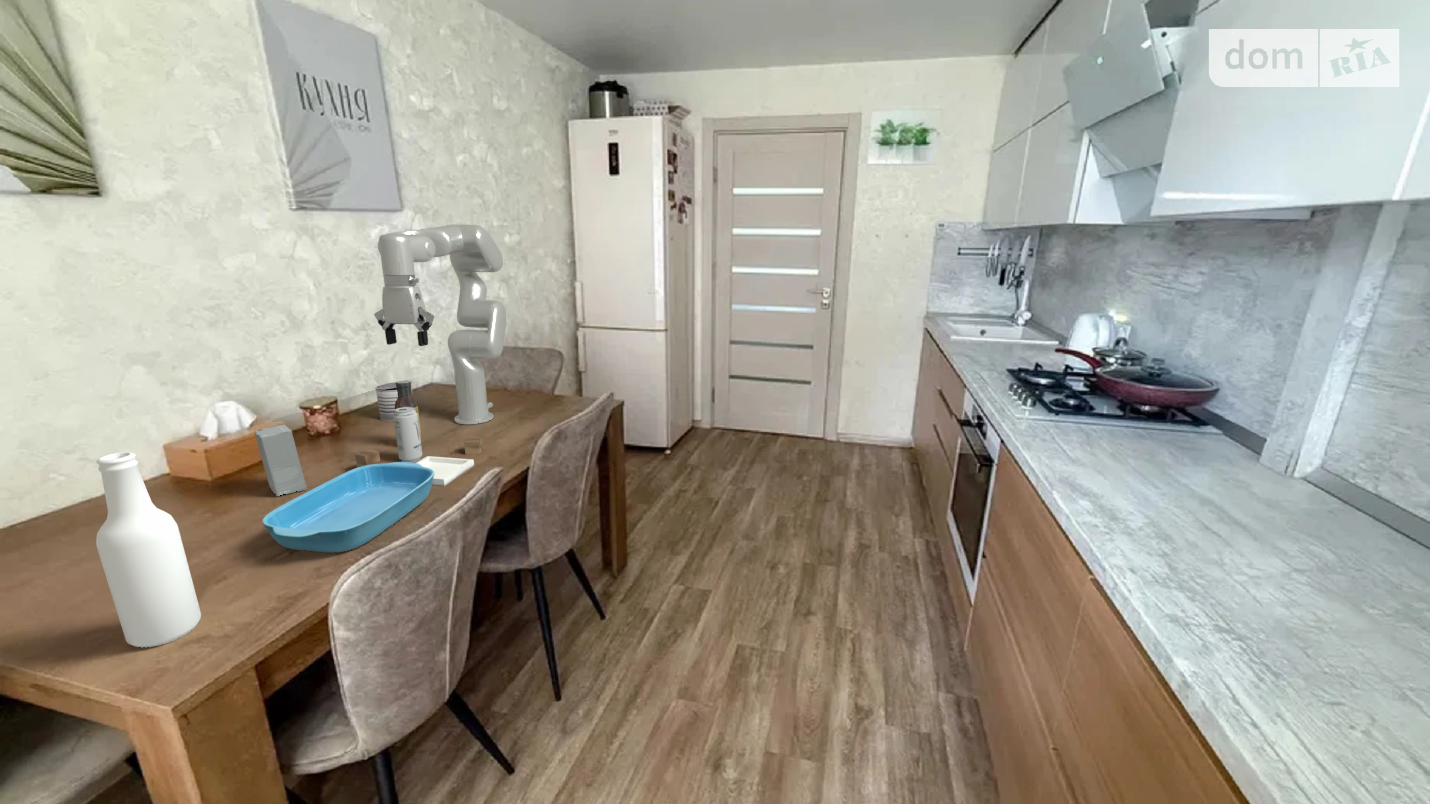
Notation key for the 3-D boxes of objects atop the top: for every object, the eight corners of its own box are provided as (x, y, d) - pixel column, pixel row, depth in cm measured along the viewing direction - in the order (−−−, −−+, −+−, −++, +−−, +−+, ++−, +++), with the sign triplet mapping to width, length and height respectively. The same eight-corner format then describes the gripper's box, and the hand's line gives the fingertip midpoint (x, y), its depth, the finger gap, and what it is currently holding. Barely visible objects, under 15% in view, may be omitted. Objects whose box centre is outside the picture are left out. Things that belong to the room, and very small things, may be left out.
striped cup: (395, 423, 194) (390, 389, 191) (371, 418, 198) (366, 385, 194) (423, 414, 204) (418, 381, 201) (399, 410, 208) (395, 378, 205)
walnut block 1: (371, 466, 157) (368, 449, 156) (381, 468, 156) (378, 451, 154) (357, 471, 154) (354, 454, 152) (367, 473, 152) (365, 456, 151)
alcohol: (111, 645, 87) (53, 464, 79) (174, 610, 96) (127, 443, 87) (156, 654, 86) (102, 470, 77) (216, 618, 94) (173, 448, 86)
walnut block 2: (468, 450, 171) (466, 437, 170) (482, 449, 171) (481, 436, 170) (465, 454, 167) (464, 442, 166) (479, 454, 168) (478, 441, 167)
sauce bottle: (415, 448, 171) (406, 384, 165) (394, 447, 171) (385, 384, 165) (426, 441, 177) (418, 379, 172) (406, 440, 177) (398, 379, 172)
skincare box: (307, 490, 142) (296, 430, 137) (272, 498, 137) (259, 436, 132) (299, 480, 147) (288, 422, 143) (265, 488, 142) (252, 428, 138)
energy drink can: (422, 461, 161) (415, 411, 157) (398, 464, 159) (390, 413, 155) (423, 454, 166) (417, 405, 162) (400, 456, 164) (393, 407, 160)
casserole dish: (345, 570, 109) (339, 536, 107) (241, 560, 111) (233, 527, 109) (454, 490, 144) (451, 464, 142) (372, 484, 146) (368, 458, 144)
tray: (428, 462, 161) (427, 456, 160) (474, 465, 159) (473, 459, 158) (394, 481, 147) (393, 475, 147) (444, 485, 145) (443, 479, 145)
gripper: (437, 282, 155) (444, 344, 159) (381, 280, 158) (389, 341, 162) (420, 283, 148) (427, 348, 152) (360, 281, 150) (369, 345, 155)
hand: (407, 344), depth 157 cm, fingers open, 9 cm apart
